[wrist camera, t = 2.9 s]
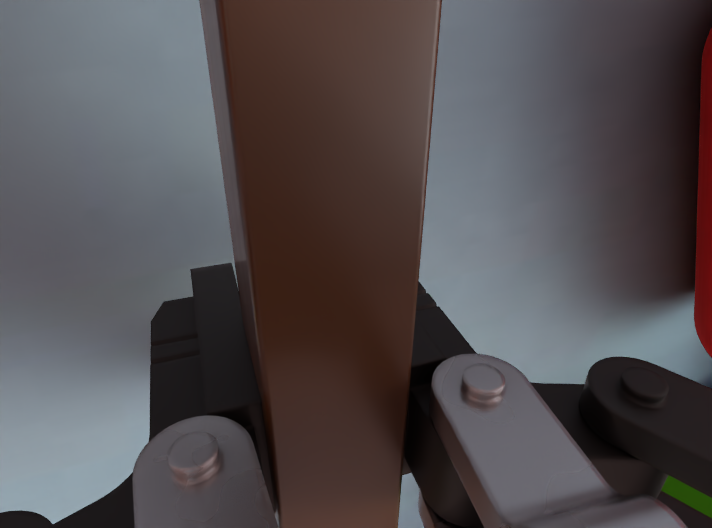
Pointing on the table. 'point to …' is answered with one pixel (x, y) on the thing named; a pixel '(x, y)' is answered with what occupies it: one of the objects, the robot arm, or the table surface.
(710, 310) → the beverage can
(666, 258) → the table surface
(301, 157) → the door handle
